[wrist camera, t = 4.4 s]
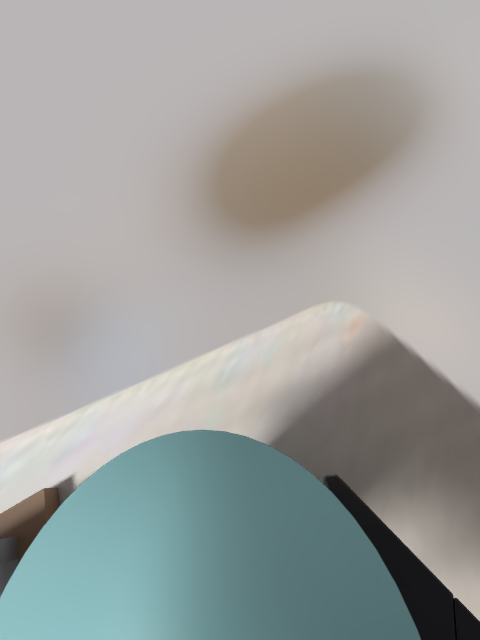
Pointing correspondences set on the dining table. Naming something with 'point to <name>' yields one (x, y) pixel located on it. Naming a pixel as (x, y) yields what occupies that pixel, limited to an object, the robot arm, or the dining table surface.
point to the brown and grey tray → (23, 529)
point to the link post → (203, 554)
